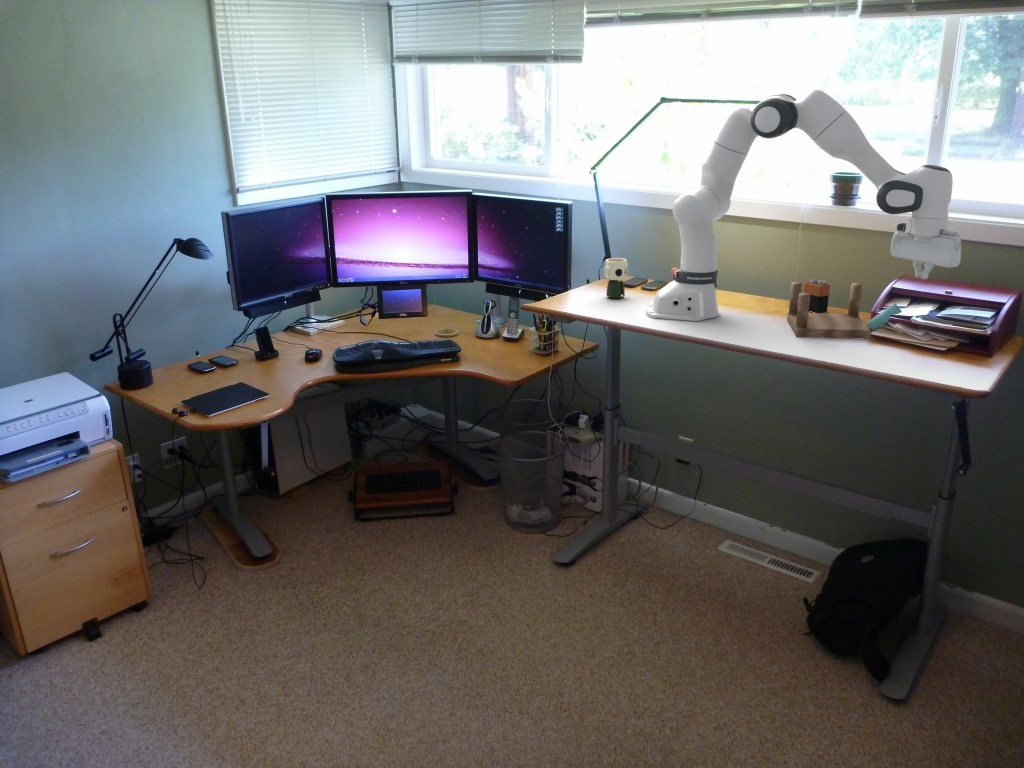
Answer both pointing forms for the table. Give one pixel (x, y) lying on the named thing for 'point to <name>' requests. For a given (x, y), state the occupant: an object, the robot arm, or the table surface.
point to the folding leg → (883, 317)
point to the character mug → (616, 276)
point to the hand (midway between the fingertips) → (921, 278)
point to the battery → (817, 295)
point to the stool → (826, 317)
